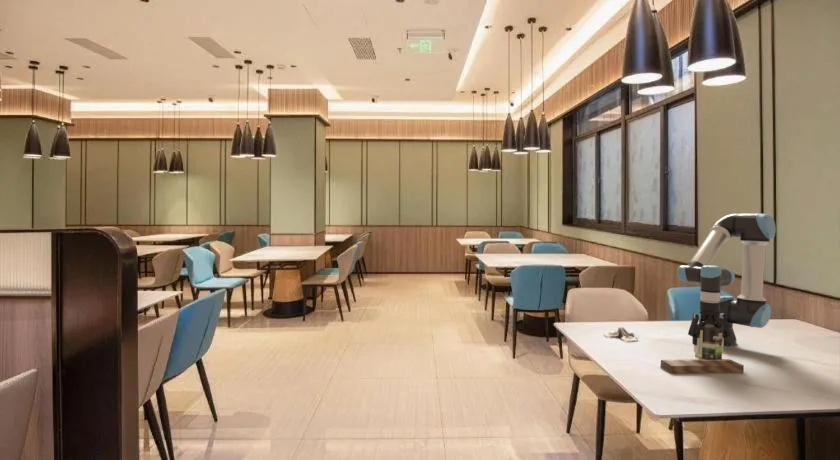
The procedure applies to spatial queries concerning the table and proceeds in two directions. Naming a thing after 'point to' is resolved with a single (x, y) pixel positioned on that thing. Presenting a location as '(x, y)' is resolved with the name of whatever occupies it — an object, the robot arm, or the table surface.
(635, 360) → the table surface
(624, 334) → the cloth
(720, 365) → the walnut plank
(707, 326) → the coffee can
